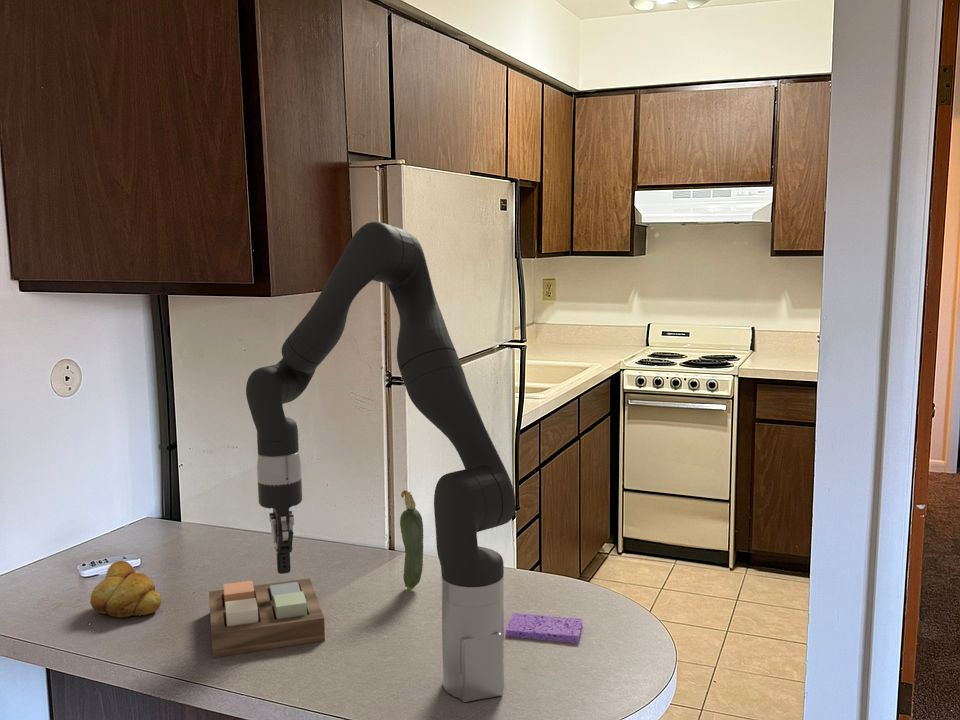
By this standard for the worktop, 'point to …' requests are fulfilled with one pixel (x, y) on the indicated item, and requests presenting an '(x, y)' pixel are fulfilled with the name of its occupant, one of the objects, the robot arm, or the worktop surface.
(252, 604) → the key cream
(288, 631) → the keypad
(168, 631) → the worktop surface
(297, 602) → the key sage
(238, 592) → the key terracotta
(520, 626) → the sponges
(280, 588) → the key slate
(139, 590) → the bread roll
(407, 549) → the vegetable
